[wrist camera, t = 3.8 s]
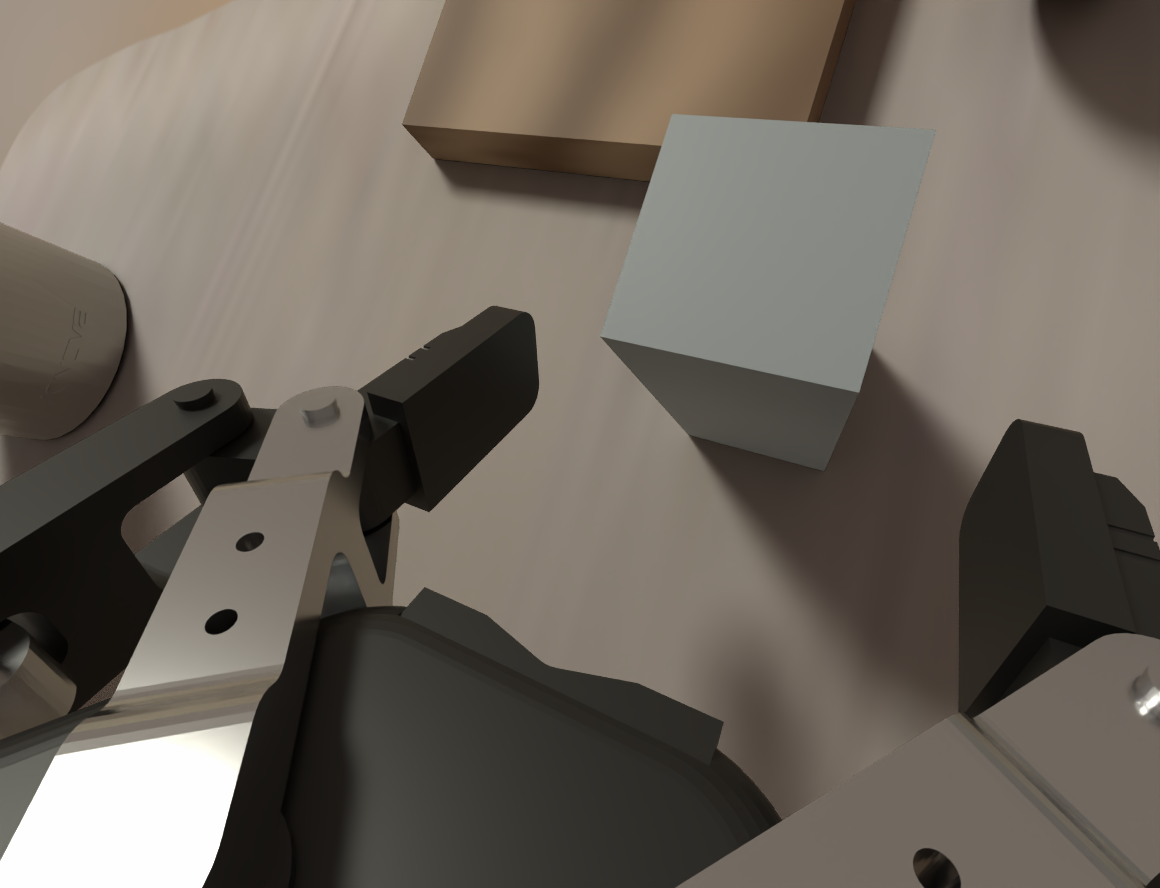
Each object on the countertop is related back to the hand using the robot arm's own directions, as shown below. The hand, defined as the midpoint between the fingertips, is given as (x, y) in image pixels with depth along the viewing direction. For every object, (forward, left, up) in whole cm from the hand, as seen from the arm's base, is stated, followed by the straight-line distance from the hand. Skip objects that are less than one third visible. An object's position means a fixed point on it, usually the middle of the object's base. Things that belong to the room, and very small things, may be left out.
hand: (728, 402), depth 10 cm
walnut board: (-8, +15, -7) cm, 19 cm away
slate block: (0, +2, -8) cm, 8 cm away
